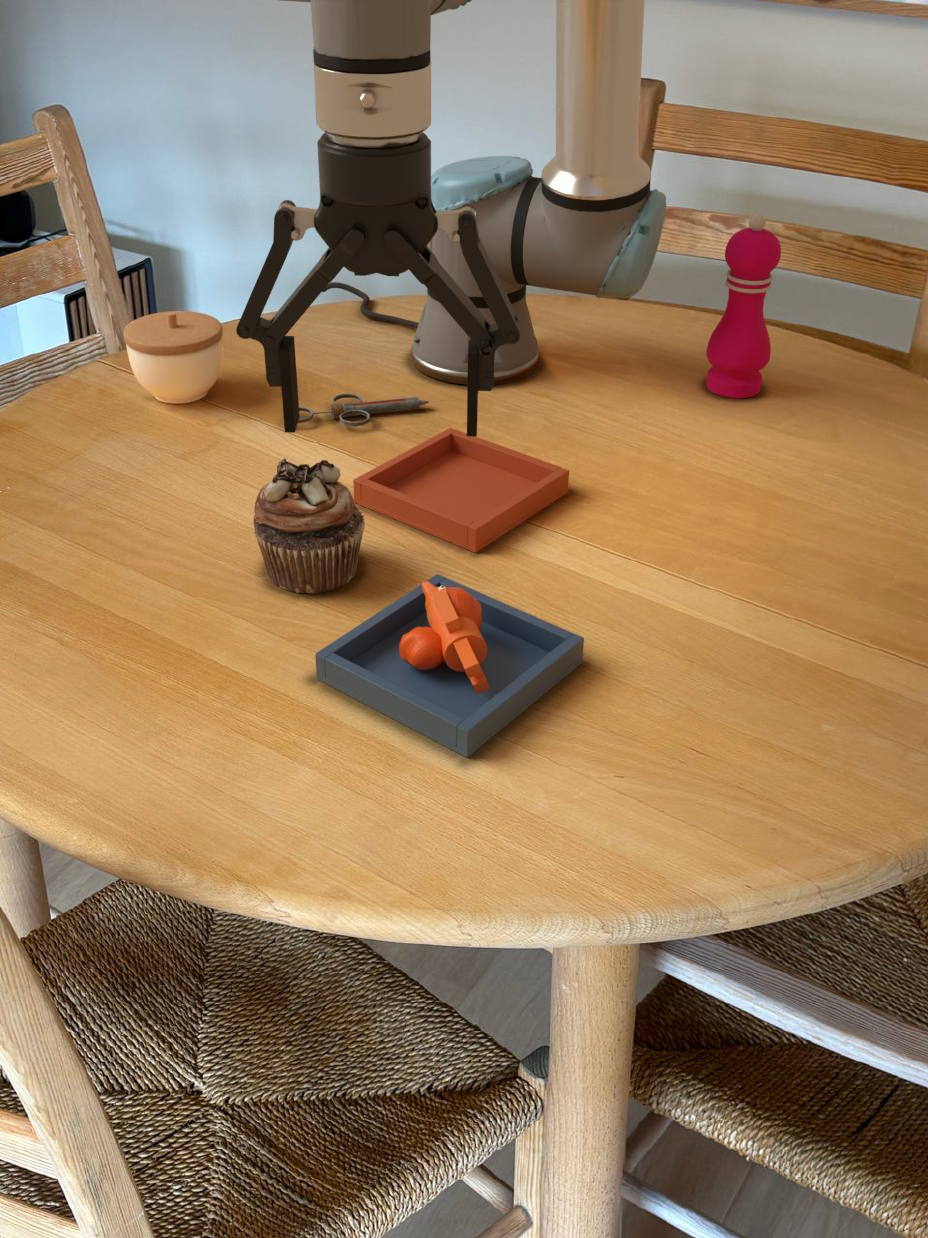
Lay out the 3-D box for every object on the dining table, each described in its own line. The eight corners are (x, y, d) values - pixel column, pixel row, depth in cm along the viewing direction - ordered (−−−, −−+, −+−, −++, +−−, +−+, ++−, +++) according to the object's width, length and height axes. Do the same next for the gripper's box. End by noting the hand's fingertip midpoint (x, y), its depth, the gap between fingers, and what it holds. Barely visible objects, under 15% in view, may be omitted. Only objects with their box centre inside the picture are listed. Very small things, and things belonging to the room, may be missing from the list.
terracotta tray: (353, 502, 121) (352, 479, 120) (449, 449, 131) (450, 427, 130) (475, 553, 114) (476, 529, 112) (568, 492, 123) (569, 469, 122)
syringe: (452, 421, 137) (452, 407, 136) (289, 438, 133) (287, 424, 132) (435, 393, 143) (435, 379, 142) (278, 409, 139) (277, 394, 138)
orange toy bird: (501, 640, 91) (459, 557, 101) (407, 680, 91) (374, 593, 101) (519, 688, 94) (477, 604, 104) (428, 727, 94) (395, 639, 104)
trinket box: (163, 421, 136) (152, 339, 130) (115, 390, 142) (103, 310, 137) (246, 395, 141) (239, 315, 136) (196, 366, 148) (188, 289, 143)
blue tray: (316, 679, 98) (314, 653, 96) (437, 598, 107) (437, 573, 106) (467, 758, 90) (467, 731, 89) (582, 663, 100) (584, 637, 98)
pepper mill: (695, 394, 143) (718, 219, 132) (709, 371, 149) (732, 201, 138) (758, 404, 141) (786, 228, 130) (769, 381, 147) (798, 209, 136)
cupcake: (255, 601, 106) (245, 498, 101) (261, 543, 114) (252, 445, 109) (367, 597, 107) (363, 495, 102) (365, 540, 115) (361, 442, 110)
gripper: (173, 143, 79) (207, 445, 91) (566, 150, 79) (548, 452, 91) (196, 115, 85) (226, 402, 97) (561, 122, 85) (545, 408, 97)
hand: (382, 427), depth 94 cm, fingers open, 13 cm apart
